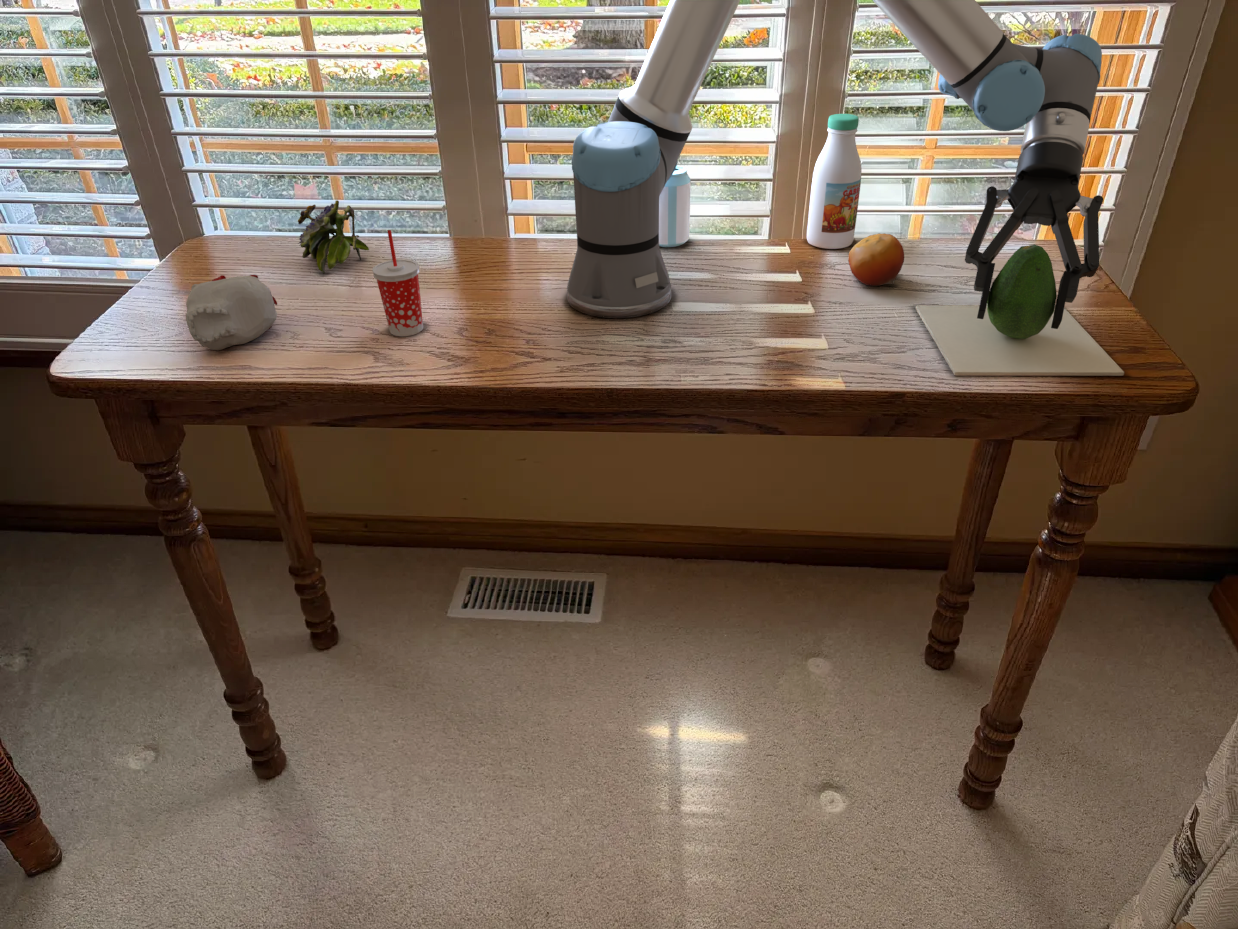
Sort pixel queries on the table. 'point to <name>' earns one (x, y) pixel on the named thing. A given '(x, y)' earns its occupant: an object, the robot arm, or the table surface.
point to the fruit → (876, 259)
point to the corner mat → (1013, 346)
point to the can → (675, 209)
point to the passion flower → (328, 236)
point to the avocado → (1023, 293)
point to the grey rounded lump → (229, 311)
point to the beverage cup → (400, 293)
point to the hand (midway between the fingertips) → (1018, 319)
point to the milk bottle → (835, 186)
